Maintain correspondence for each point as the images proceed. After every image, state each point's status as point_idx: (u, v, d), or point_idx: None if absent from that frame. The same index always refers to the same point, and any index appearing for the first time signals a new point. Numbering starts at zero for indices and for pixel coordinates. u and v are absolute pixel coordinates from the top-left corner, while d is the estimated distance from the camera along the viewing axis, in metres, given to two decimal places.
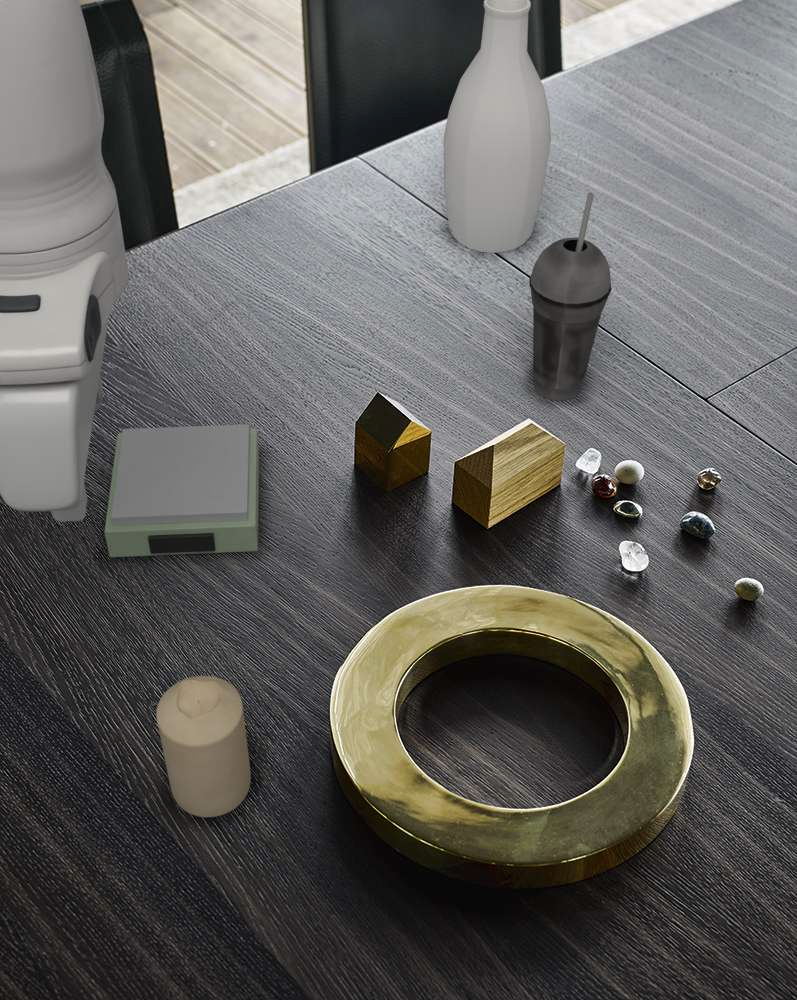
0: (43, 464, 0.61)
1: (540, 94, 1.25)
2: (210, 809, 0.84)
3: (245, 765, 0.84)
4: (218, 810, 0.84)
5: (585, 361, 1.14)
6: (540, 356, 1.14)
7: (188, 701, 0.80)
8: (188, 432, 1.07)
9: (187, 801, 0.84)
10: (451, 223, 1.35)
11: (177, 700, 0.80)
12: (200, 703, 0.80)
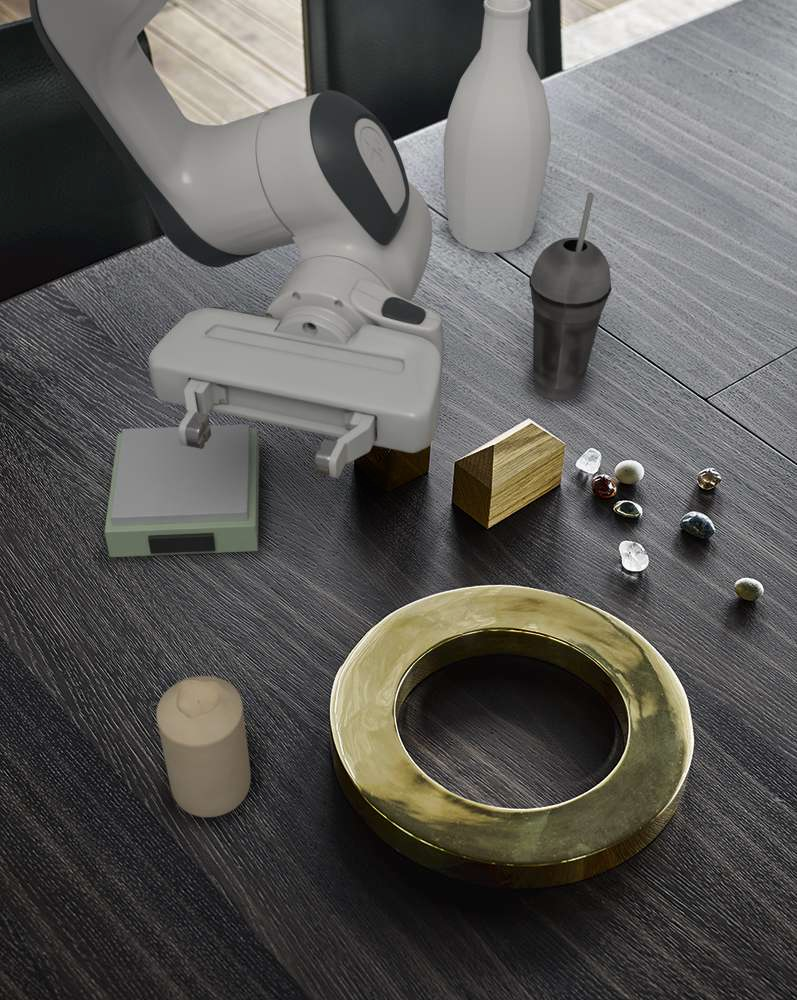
0: (438, 410, 0.85)
1: (540, 94, 1.25)
2: (210, 809, 0.84)
3: (245, 765, 0.84)
4: (218, 810, 0.84)
5: (585, 361, 1.14)
6: (540, 356, 1.14)
7: (188, 701, 0.80)
8: None
9: (187, 801, 0.84)
10: (451, 223, 1.35)
11: (177, 700, 0.80)
12: (199, 703, 0.80)
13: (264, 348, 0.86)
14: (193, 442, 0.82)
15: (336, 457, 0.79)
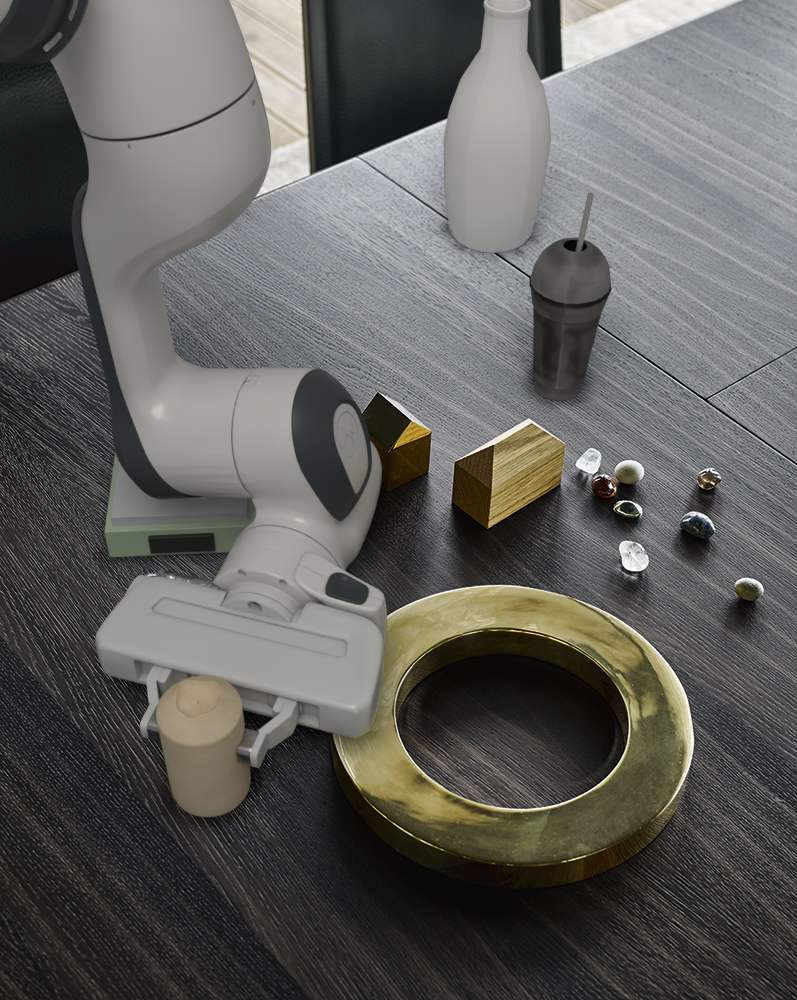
0: (380, 691, 0.86)
1: (540, 94, 1.25)
2: (210, 808, 0.84)
3: (245, 765, 0.84)
4: (218, 810, 0.84)
5: (585, 361, 1.14)
6: (540, 356, 1.14)
7: (187, 701, 0.80)
8: None
9: (187, 801, 0.84)
10: (451, 223, 1.35)
11: (176, 699, 0.80)
12: (199, 703, 0.80)
13: (209, 627, 0.87)
14: (155, 736, 0.83)
15: (257, 750, 0.81)
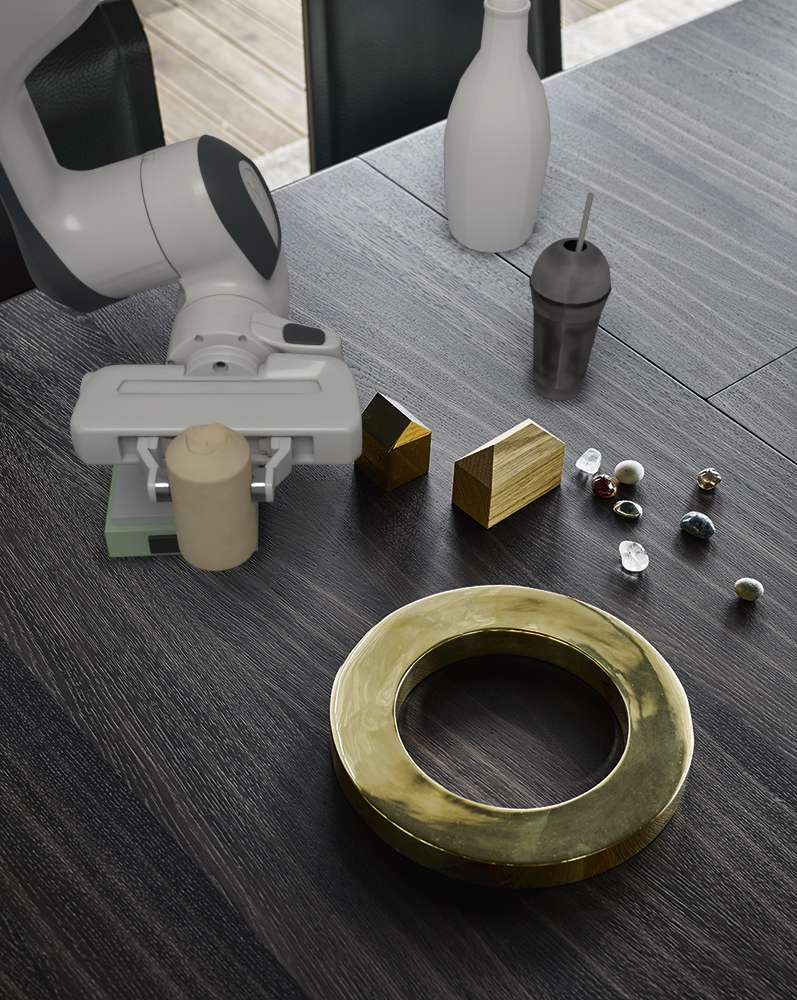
0: None
1: (540, 94, 1.25)
2: (229, 558, 0.85)
3: (254, 508, 0.86)
4: (237, 559, 0.86)
5: (585, 361, 1.14)
6: (540, 356, 1.14)
7: (196, 446, 0.81)
8: None
9: (206, 555, 0.85)
10: (451, 223, 1.35)
11: (186, 445, 0.81)
12: (208, 446, 0.82)
13: (181, 394, 0.88)
14: (164, 496, 0.83)
15: (271, 482, 0.83)
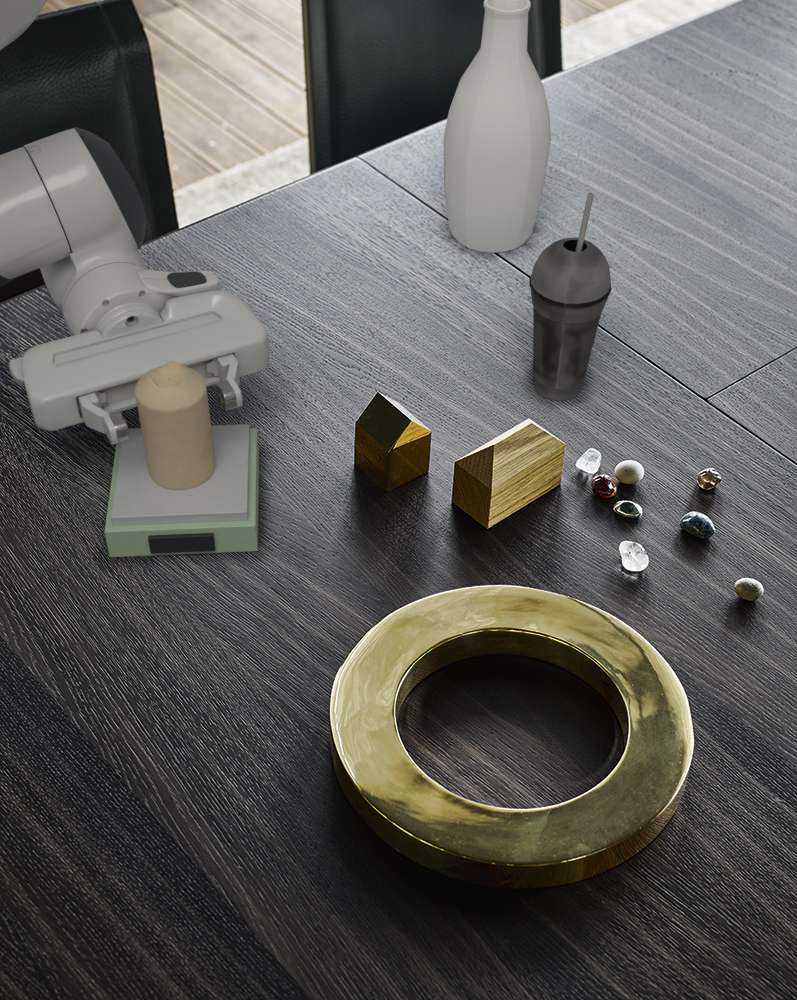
0: None
1: (540, 94, 1.25)
2: (203, 472, 1.02)
3: None
4: (208, 472, 1.02)
5: (585, 361, 1.14)
6: (540, 356, 1.14)
7: (161, 383, 0.97)
8: None
9: (186, 474, 1.01)
10: (451, 223, 1.35)
11: (155, 384, 0.96)
12: (170, 381, 0.97)
13: (110, 350, 1.02)
14: (124, 435, 0.98)
15: (238, 389, 1.00)
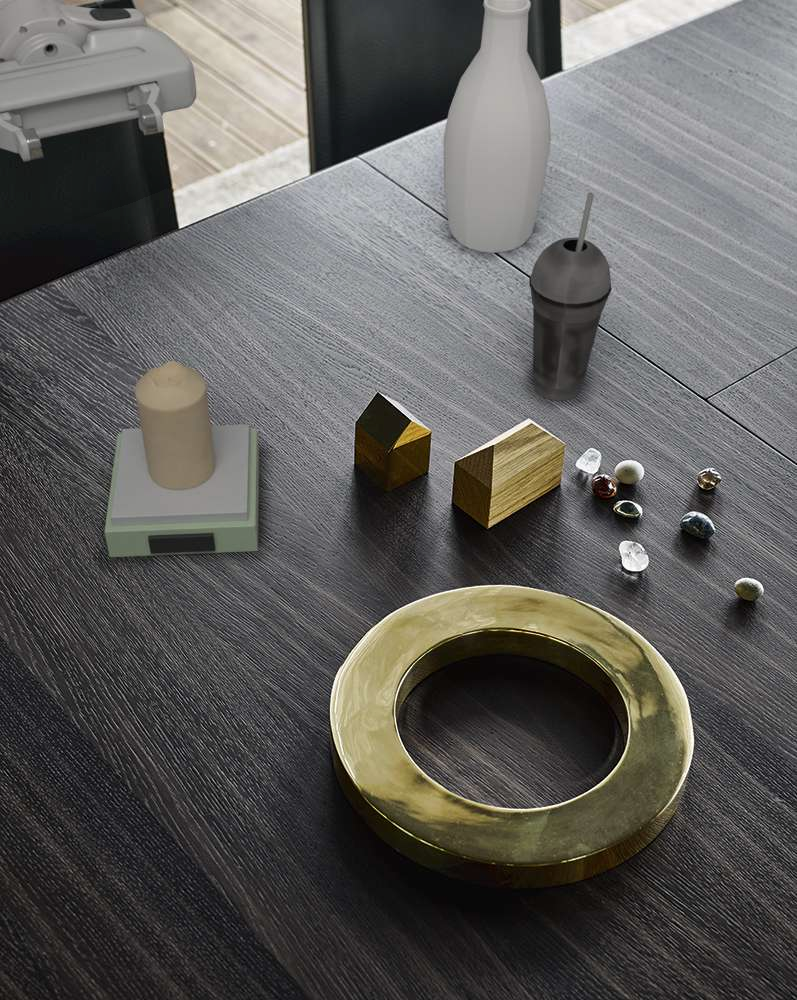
0: None
1: (540, 94, 1.25)
2: (203, 472, 1.02)
3: None
4: (208, 472, 1.02)
5: (585, 361, 1.14)
6: (540, 356, 1.14)
7: (161, 383, 0.97)
8: None
9: (186, 474, 1.01)
10: (451, 223, 1.35)
11: (155, 384, 0.96)
12: (170, 381, 0.97)
13: (27, 76, 0.98)
14: (36, 151, 0.93)
15: (159, 110, 0.96)
